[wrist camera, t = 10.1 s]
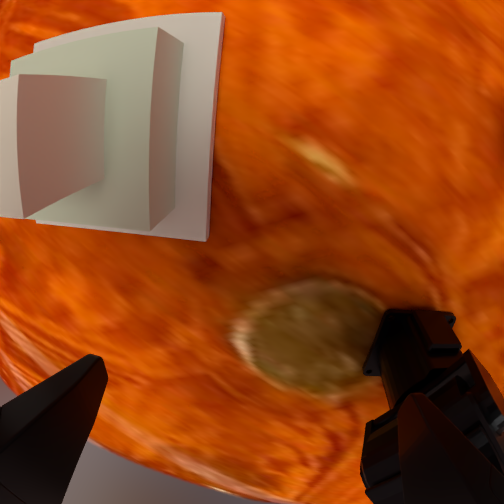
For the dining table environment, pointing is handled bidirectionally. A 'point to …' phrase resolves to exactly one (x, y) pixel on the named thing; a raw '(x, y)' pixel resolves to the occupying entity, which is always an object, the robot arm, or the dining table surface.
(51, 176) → the pink brick
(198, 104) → the base plate
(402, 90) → the dining table surface
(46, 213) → the base brick
